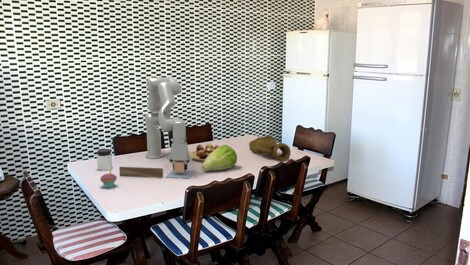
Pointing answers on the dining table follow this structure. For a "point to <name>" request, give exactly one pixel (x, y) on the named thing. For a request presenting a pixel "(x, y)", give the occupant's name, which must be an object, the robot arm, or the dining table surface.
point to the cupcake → (108, 179)
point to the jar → (104, 159)
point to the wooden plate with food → (202, 152)
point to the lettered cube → (179, 166)
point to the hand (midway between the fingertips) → (180, 169)
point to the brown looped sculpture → (269, 147)
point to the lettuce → (220, 159)
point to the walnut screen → (141, 172)
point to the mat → (180, 174)
